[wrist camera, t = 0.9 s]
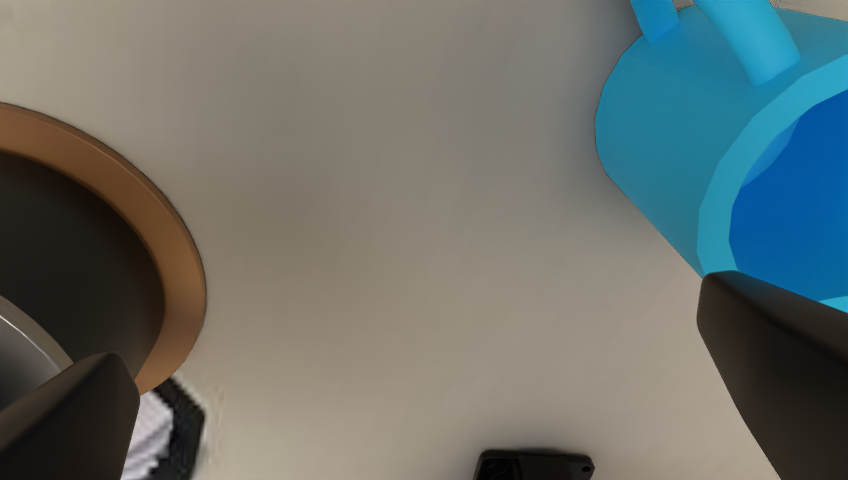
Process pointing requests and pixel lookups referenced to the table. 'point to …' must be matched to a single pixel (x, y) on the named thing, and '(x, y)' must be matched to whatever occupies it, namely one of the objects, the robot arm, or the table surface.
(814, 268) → the mug
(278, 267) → the table surface
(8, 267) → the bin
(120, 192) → the turntable
